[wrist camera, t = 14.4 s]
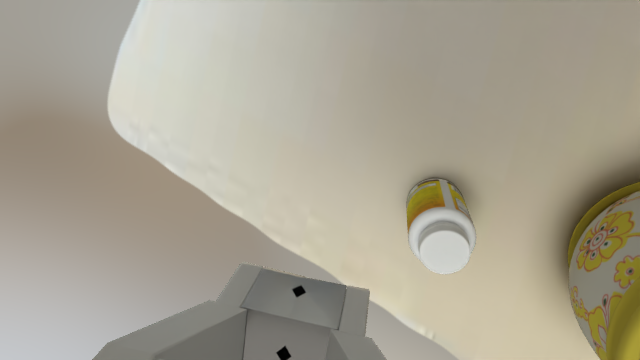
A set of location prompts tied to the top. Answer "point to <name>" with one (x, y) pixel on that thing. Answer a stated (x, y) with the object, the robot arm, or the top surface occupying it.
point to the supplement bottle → (439, 226)
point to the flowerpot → (608, 275)
